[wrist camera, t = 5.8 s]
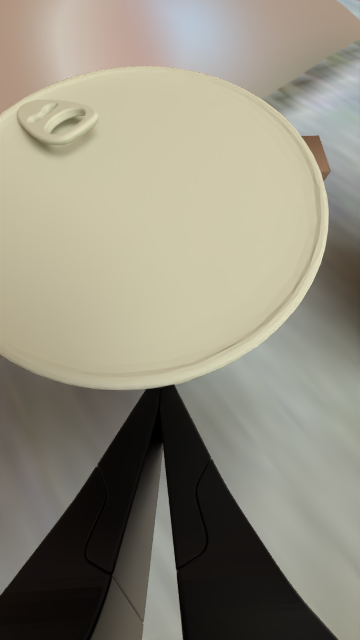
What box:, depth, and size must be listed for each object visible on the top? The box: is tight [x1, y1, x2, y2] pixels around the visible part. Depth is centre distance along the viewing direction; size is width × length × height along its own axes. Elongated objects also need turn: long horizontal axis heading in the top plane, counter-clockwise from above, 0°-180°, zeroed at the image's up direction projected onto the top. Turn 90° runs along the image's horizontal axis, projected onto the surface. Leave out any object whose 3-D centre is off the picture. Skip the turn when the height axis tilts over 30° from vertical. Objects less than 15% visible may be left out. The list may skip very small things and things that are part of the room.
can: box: [0, 66, 328, 390], centre depth 10 cm, size 9×9×12 cm
